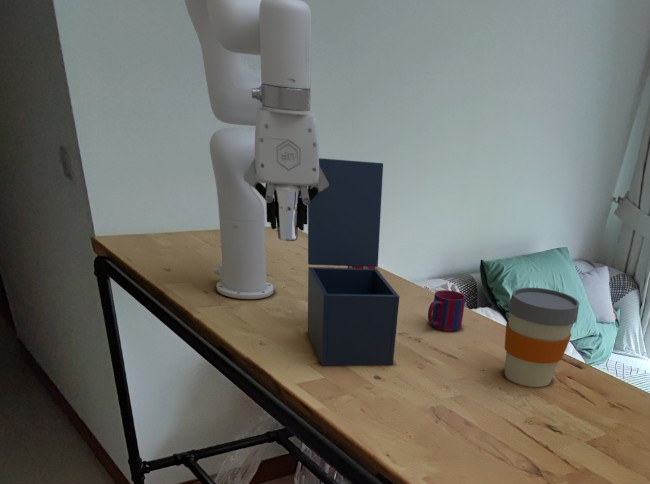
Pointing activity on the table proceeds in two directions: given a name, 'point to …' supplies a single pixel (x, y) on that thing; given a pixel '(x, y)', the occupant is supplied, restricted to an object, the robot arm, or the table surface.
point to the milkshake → (287, 211)
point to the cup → (447, 310)
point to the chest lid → (346, 215)
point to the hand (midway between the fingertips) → (287, 226)
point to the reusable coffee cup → (537, 334)
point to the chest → (351, 316)
